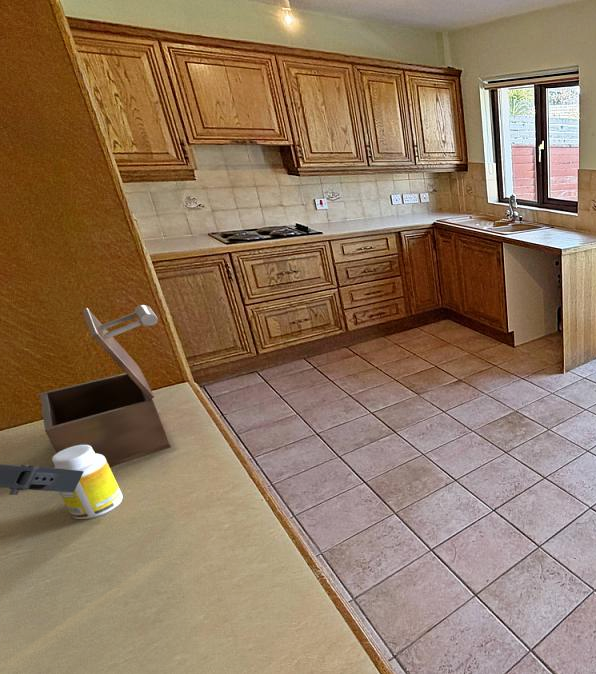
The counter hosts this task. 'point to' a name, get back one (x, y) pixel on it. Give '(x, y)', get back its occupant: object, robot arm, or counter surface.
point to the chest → (104, 419)
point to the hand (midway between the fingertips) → (30, 476)
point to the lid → (113, 346)
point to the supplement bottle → (88, 482)
